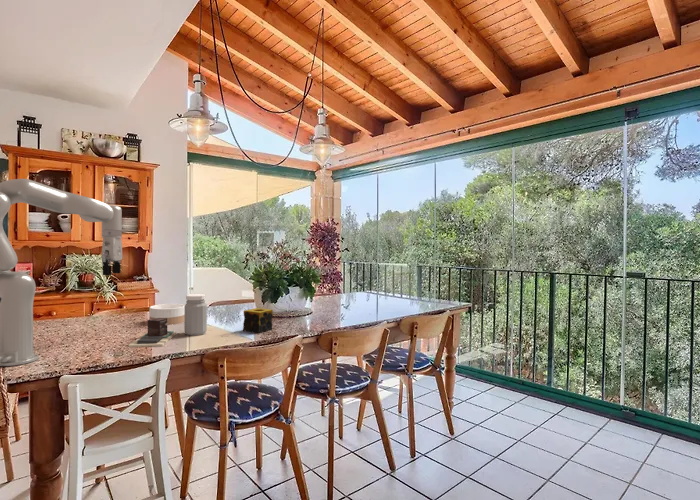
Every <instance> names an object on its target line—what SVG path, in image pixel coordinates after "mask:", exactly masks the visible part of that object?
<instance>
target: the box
mask: <svg viewBox="0 0 700 500" xmlns="http://www.w3.org/2000/svg"><path fill="white" fill-rule="evenodd" d="M167 331H168V325H167V318H153V319H147V333H148V336H164V335H166V334H167Z"/></svg>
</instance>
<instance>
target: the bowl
mask: <svg viewBox="0 0 700 500" xmlns="http://www.w3.org/2000/svg"><path fill="white" fill-rule="evenodd" d="M185 305H186V304H182V303H164V304H163V303H161V304H155V305H151V306H149V308H148V309H149V313H148V314H149V315H148V316H149V317H148V318H149V319H153V318H167V326H170V325H171V326H172V324H173V325H178V324H182V322H183V323H184V313H185ZM149 319H148V320H149Z"/></svg>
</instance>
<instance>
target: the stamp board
mask: <svg viewBox="0 0 700 500" xmlns="http://www.w3.org/2000/svg"><path fill="white" fill-rule="evenodd" d="M176 335H177V331H174V330H173V331H172V330H171V331H170V330H169V331H168V330H167V334H166V335H164V336H148V332H145V333H144V334H142V335H141V336H139V337H138V338H137V339H135V340H134V341H132V342H131V343H129V344H128V348H141V347H142V348H144V347H145V348H146V347H164V346H165V345H166V344H167V343H168V342H169V341H170V340H171V339H172V338H173V337H175V336H176Z"/></svg>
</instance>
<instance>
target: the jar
mask: <svg viewBox="0 0 700 500" xmlns="http://www.w3.org/2000/svg"><path fill="white" fill-rule="evenodd" d="M185 300H186V301H185V302H186V303H185V304H184V305H185V313H184V322H183V323H184V332H183V333H184V334H186V335H187V336H200V335H204V334H206V332H207V330H208V329H207V328H208V325H207V324H208V319H207V318H208V312H207V311H208V306H207V305H208V304H207V302H206V294H204V293H190V294H186V295H185Z"/></svg>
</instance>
